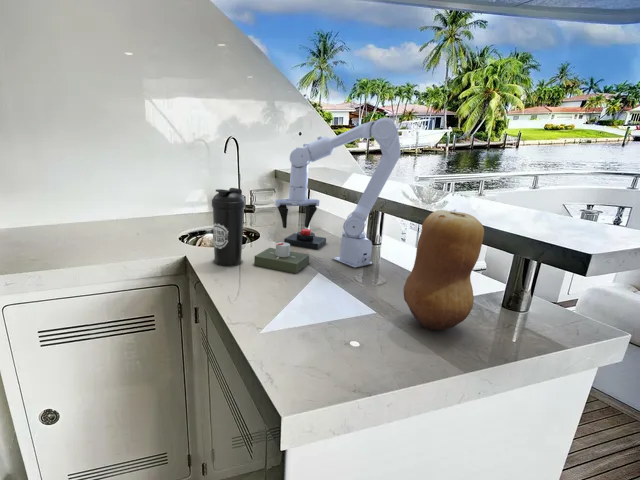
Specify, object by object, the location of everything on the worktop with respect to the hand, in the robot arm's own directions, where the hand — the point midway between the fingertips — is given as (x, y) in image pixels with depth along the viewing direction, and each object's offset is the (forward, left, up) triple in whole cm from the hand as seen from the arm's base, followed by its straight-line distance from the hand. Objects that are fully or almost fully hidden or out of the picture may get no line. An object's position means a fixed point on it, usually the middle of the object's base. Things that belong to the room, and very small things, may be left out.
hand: (295, 227), depth 127 cm
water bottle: (+3, +24, -10) cm, 26 cm away
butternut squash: (-55, +5, -10) cm, 56 cm away
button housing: (+8, -12, -9) cm, 17 cm away
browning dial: (-7, +10, -6) cm, 14 cm away
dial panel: (-7, +10, -9) cm, 16 cm away
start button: (+8, -12, -6) cm, 15 cm away
